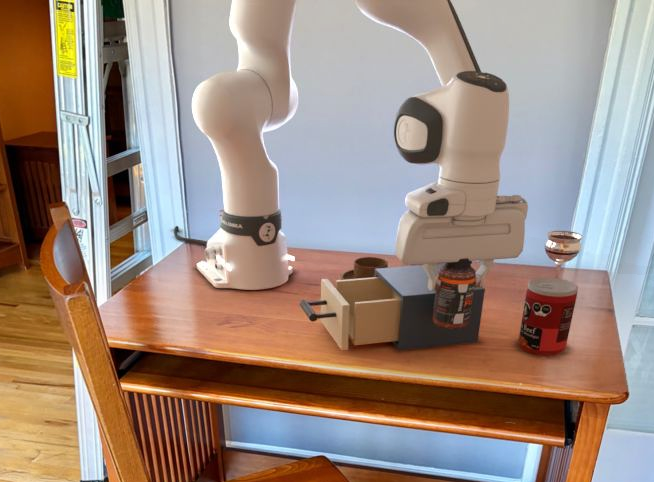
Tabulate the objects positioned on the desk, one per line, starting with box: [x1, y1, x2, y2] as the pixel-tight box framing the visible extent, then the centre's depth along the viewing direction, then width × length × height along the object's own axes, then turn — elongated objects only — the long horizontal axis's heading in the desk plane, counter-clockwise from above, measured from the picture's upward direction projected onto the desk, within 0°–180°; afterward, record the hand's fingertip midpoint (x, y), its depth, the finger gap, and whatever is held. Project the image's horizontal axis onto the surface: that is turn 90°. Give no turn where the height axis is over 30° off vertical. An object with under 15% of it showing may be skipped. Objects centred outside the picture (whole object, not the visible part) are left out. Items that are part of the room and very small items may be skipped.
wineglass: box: [543, 229, 584, 279], centre depth 145 cm, size 7×7×12 cm
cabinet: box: [374, 263, 486, 351], centre depth 130 cm, size 15×15×10 cm
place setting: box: [340, 256, 440, 280], centre depth 150 cm, size 18×20×6 cm
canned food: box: [518, 277, 579, 356], centre depth 124 cm, size 8×8×11 cm
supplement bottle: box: [433, 258, 477, 329], centre depth 117 cm, size 6×6×11 cm
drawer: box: [299, 277, 401, 351], centre depth 127 cm, size 18×13×8 cm
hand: (454, 287), depth 117 cm, fingers closed on supplement bottle, 6 cm apart
